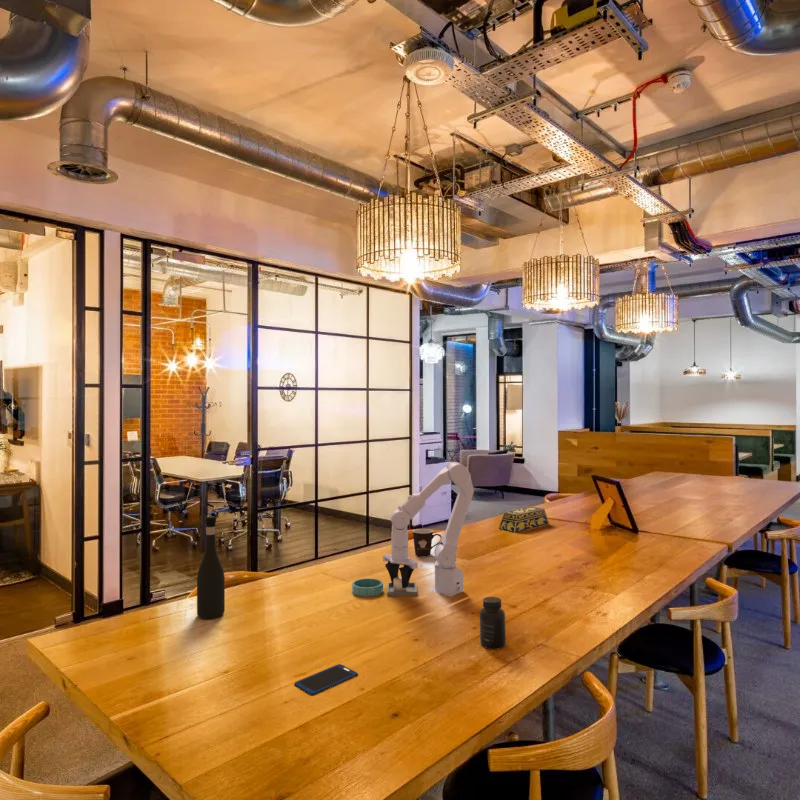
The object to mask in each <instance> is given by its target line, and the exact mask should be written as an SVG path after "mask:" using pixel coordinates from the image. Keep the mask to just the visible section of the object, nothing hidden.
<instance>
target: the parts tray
mask: <svg viewBox="0 0 800 800" xmlns="http://www.w3.org/2000/svg"><path fill="white" fill-rule="evenodd" d="M386 583H387V584H386V589H387V590H386V595H387V597H408V596H409V597H412V596H413V597H417V596H418V588H417V583H416V581H415V582H414V581H411V582H410V581H409V584H408V587H406V591H399V592H394V591H393V585H392V582H386Z"/></svg>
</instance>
